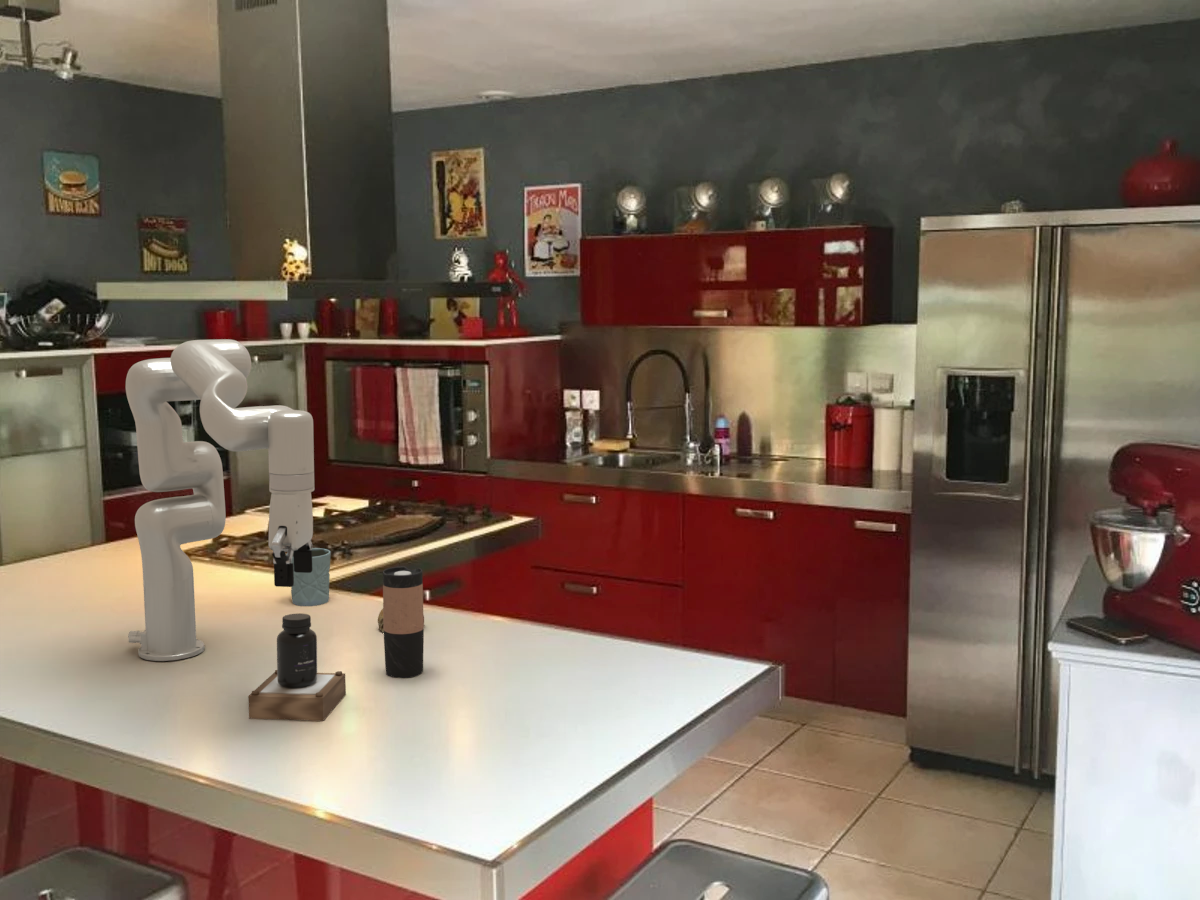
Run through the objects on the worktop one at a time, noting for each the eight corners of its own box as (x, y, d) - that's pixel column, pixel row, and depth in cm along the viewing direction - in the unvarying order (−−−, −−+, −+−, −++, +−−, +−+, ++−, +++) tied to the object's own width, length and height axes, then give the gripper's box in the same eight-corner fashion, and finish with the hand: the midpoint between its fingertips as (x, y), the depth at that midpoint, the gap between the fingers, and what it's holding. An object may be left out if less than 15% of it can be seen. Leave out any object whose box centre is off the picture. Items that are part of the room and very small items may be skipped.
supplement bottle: (307, 690, 196) (305, 623, 195) (270, 687, 198) (268, 620, 196) (324, 677, 203) (322, 612, 201) (289, 675, 204) (287, 610, 203)
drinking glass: (340, 600, 272) (339, 551, 270) (308, 609, 263) (307, 559, 262) (310, 594, 277) (309, 546, 276) (278, 603, 269) (277, 553, 267)
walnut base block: (249, 718, 195) (248, 693, 194) (276, 692, 207) (275, 668, 207) (323, 720, 194) (322, 695, 193) (345, 694, 206) (345, 670, 206)
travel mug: (391, 680, 214) (389, 577, 212) (379, 669, 221) (377, 568, 218) (429, 674, 218) (428, 572, 215) (417, 663, 224) (415, 564, 222)
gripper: (287, 473, 204) (289, 566, 207) (251, 490, 187) (254, 591, 189) (328, 474, 204) (330, 567, 206) (296, 491, 187) (298, 593, 189)
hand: (293, 579), depth 198 cm, fingers open, 9 cm apart
